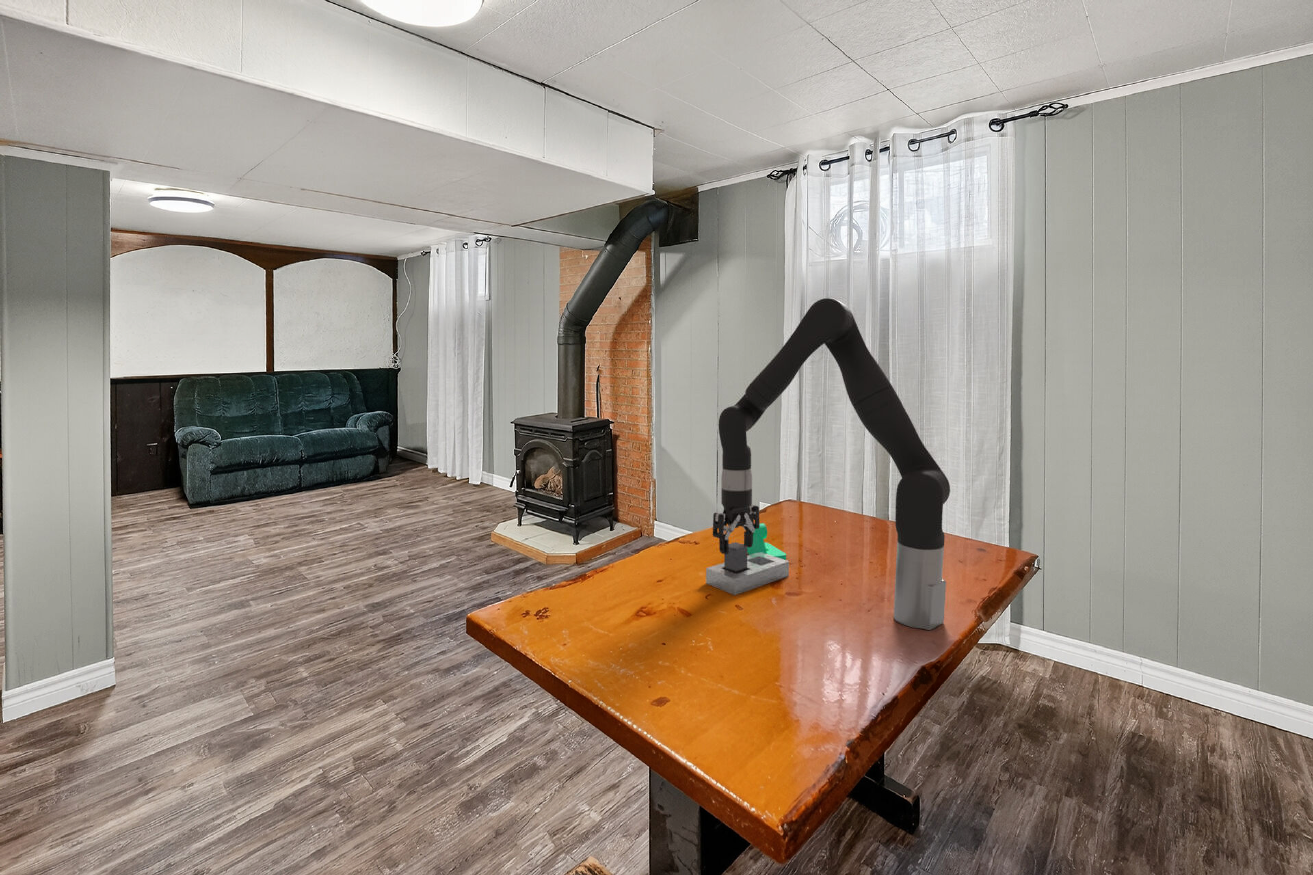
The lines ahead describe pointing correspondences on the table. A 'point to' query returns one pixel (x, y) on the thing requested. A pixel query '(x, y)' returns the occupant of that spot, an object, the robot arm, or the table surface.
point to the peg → (736, 558)
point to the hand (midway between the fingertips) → (736, 549)
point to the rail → (748, 574)
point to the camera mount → (764, 544)
